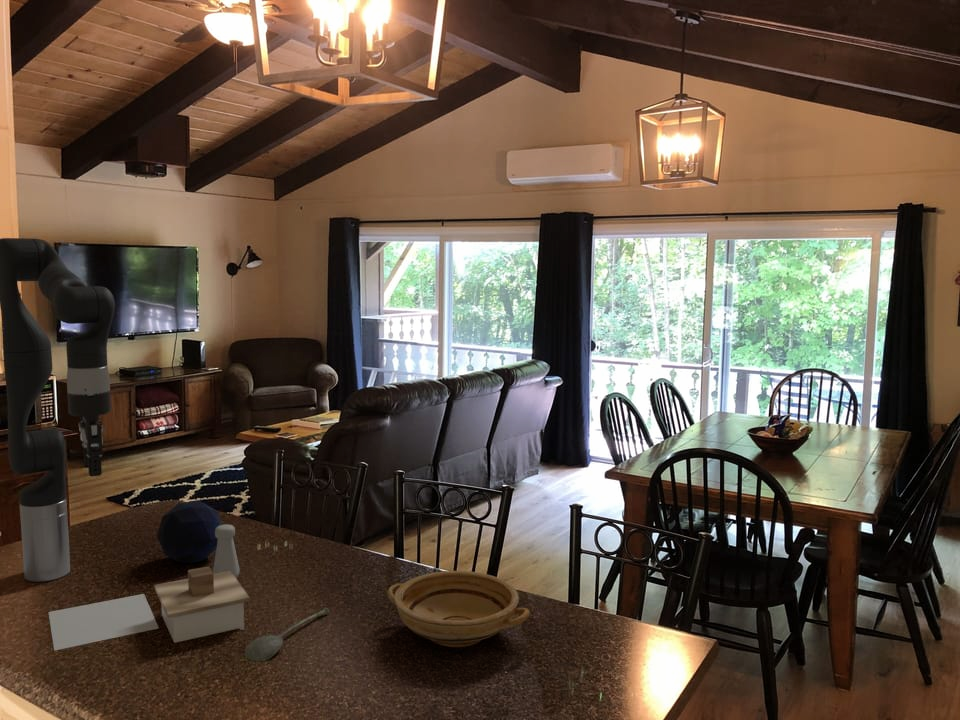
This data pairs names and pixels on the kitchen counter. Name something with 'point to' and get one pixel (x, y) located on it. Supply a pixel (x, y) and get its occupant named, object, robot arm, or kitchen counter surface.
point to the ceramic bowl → (457, 606)
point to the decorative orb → (189, 532)
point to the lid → (200, 592)
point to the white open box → (205, 622)
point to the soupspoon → (272, 642)
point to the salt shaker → (225, 551)
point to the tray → (101, 621)
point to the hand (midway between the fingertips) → (93, 470)
